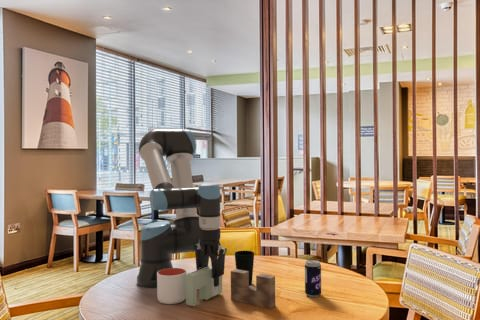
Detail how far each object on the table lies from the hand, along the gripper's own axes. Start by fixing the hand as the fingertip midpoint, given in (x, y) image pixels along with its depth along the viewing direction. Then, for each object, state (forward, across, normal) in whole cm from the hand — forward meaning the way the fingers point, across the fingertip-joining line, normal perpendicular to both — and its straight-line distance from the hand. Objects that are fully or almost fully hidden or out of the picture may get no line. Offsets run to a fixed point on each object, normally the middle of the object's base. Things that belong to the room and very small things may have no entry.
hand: (210, 293), depth 148 cm
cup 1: (+2, -10, -9) cm, 13 cm away
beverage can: (+1, +29, +22) cm, 37 cm away
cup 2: (+2, +1, +20) cm, 20 cm away
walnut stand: (+1, +15, +4) cm, 16 cm away
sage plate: (+1, 0, -3) cm, 3 cm away
